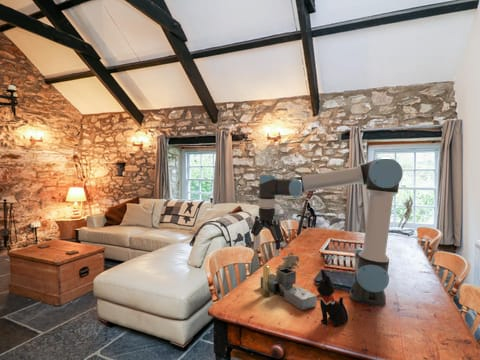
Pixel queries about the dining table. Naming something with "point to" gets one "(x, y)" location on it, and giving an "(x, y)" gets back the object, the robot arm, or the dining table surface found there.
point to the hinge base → (281, 281)
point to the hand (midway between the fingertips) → (266, 252)
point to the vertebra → (289, 261)
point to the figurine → (330, 302)
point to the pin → (266, 280)
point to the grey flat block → (300, 297)
